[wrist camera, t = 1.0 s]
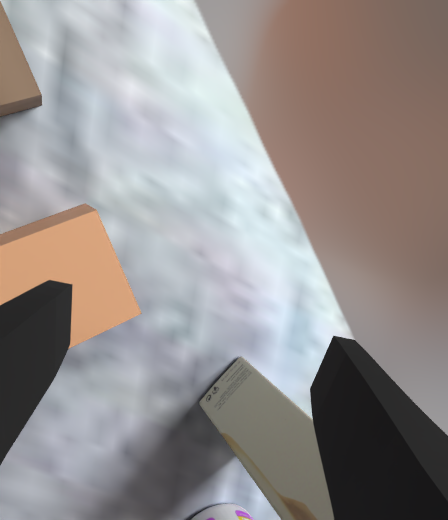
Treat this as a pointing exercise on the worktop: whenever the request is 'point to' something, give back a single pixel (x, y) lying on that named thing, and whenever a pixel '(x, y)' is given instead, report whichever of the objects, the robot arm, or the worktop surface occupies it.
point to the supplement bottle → (223, 513)
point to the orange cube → (69, 268)
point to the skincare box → (270, 441)
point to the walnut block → (15, 73)
